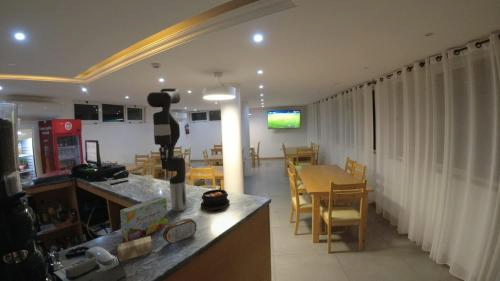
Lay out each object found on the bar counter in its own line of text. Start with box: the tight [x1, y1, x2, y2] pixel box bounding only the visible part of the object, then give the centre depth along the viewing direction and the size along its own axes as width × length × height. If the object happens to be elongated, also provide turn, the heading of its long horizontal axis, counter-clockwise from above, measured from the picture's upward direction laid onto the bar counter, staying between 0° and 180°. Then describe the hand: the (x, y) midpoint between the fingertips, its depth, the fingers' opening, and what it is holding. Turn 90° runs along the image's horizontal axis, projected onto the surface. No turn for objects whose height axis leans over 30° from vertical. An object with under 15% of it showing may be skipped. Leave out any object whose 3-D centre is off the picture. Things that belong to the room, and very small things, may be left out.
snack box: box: [119, 196, 169, 243], centre depth 107 cm, size 21×6×15 cm, turn 149°
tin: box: [162, 218, 198, 244], centre depth 99 cm, size 15×3×8 cm, turn 130°
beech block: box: [117, 235, 153, 262], centre depth 89 cm, size 5×5×12 cm
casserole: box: [200, 189, 230, 211], centre depth 140 cm, size 25×19×8 cm
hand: (165, 167), depth 105 cm, fingers open, 8 cm apart
